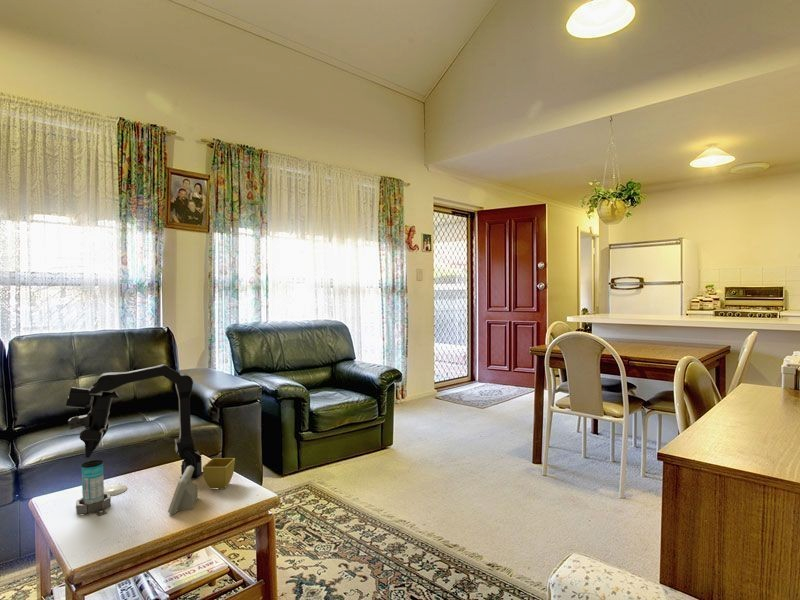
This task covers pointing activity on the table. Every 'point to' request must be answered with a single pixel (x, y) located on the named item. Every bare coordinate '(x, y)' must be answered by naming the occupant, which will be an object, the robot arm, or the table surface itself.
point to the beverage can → (92, 482)
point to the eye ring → (94, 506)
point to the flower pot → (218, 472)
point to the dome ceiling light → (115, 489)
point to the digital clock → (184, 493)
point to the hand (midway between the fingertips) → (90, 453)
